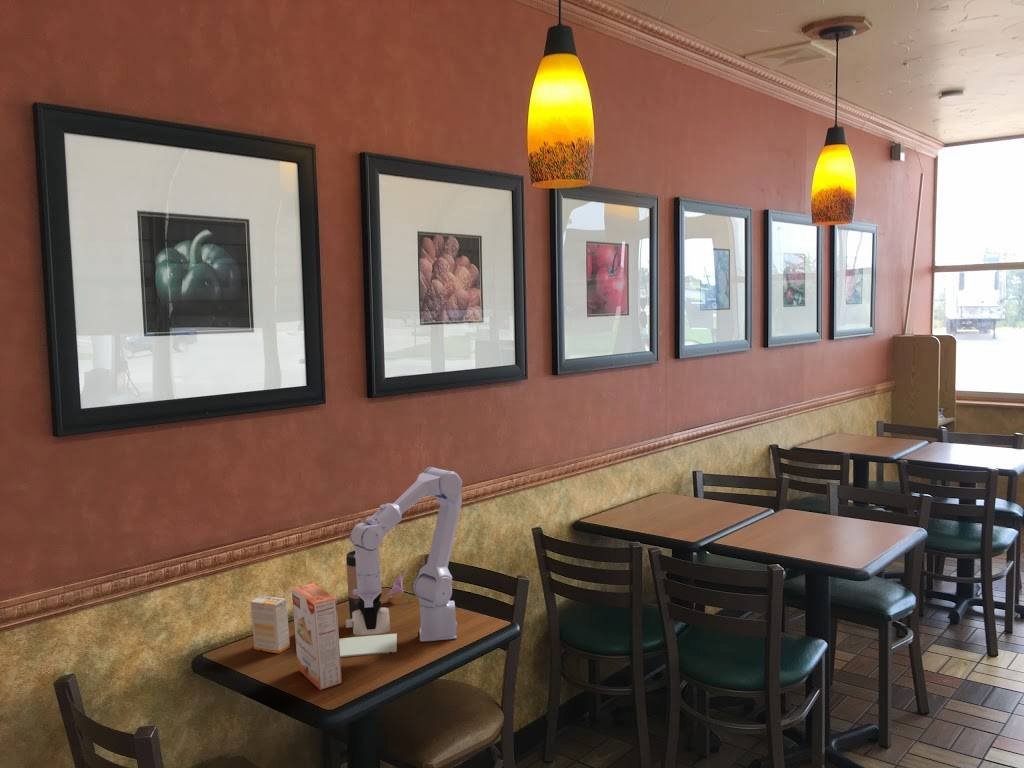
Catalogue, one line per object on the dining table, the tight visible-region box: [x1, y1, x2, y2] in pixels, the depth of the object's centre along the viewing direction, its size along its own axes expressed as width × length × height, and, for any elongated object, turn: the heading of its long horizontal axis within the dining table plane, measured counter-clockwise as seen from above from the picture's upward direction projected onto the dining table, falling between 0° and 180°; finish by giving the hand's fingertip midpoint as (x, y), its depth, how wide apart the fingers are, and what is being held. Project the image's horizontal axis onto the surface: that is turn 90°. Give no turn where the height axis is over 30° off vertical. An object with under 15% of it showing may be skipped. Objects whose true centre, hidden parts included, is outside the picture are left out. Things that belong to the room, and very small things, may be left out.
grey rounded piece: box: [345, 607, 391, 636], centre depth 205 cm, size 11×4×5 cm, turn 98°
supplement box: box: [249, 595, 291, 655], centre depth 213 cm, size 8×5×13 cm, turn 65°
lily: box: [381, 569, 412, 605], centre depth 244 cm, size 12×12×10 cm
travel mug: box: [345, 550, 361, 619], centre depth 227 cm, size 8×8×20 cm
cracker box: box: [291, 582, 343, 691], centre depth 195 cm, size 14×6×21 cm, turn 35°
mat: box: [339, 632, 398, 658], centre depth 213 cm, size 16×11×1 cm
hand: (371, 625), depth 205 cm, fingers closed on grey rounded piece, 4 cm apart
